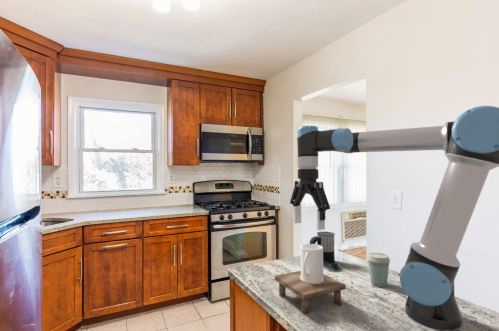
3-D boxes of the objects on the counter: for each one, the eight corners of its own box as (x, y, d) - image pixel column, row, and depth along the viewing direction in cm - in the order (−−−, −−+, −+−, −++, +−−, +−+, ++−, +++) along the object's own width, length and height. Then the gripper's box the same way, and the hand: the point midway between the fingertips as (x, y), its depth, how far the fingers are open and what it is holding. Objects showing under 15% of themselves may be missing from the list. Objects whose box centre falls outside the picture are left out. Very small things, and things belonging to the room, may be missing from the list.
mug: (314, 289, 92) (313, 253, 93) (291, 283, 98) (291, 249, 98) (327, 278, 102) (327, 246, 102) (306, 273, 107) (306, 242, 107)
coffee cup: (392, 290, 107) (391, 259, 108) (368, 287, 110) (368, 257, 111) (388, 281, 116) (388, 253, 116) (366, 279, 118) (366, 251, 119)
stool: (345, 304, 96) (345, 284, 96) (303, 316, 88) (303, 294, 88) (313, 285, 112) (312, 268, 112) (275, 294, 104) (275, 275, 105)
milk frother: (324, 258, 148) (323, 230, 148) (350, 265, 136) (350, 235, 136) (306, 263, 139) (306, 234, 139) (333, 272, 127) (333, 240, 127)
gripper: (340, 167, 92) (341, 231, 91) (296, 168, 114) (297, 219, 114) (322, 167, 88) (323, 234, 88) (281, 168, 111) (281, 221, 110)
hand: (308, 226), depth 101 cm, fingers open, 13 cm apart
